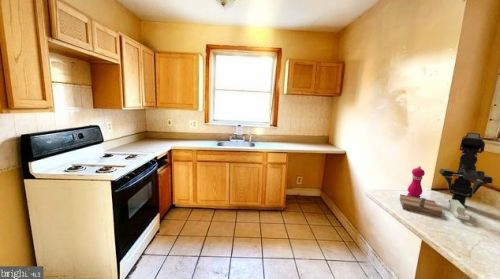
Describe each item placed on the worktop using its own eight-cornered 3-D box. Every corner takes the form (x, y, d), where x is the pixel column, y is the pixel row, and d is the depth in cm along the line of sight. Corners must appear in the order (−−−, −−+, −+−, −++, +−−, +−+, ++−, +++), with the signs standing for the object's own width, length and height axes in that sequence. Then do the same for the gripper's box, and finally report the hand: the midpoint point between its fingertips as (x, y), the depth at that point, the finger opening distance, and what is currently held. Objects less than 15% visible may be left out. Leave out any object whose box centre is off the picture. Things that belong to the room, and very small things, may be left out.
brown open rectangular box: (399, 199, 129) (401, 187, 127) (433, 205, 121) (436, 193, 120) (402, 209, 116) (405, 196, 115) (440, 217, 109) (443, 203, 108)
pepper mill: (403, 195, 134) (408, 164, 130) (411, 194, 136) (417, 163, 133) (415, 200, 127) (421, 168, 124) (423, 199, 129) (430, 167, 126)
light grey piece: (446, 208, 119) (449, 198, 118) (457, 211, 117) (459, 200, 116) (456, 221, 106) (458, 210, 105) (468, 224, 104) (471, 212, 103)
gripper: (448, 162, 105) (442, 192, 108) (502, 169, 97) (494, 202, 100) (441, 157, 115) (436, 185, 118) (490, 164, 107) (482, 193, 109)
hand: (460, 191), depth 111 cm, fingers open, 9 cm apart
